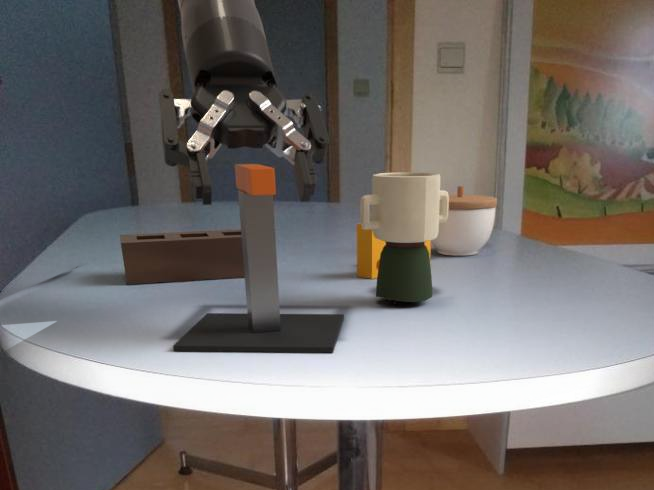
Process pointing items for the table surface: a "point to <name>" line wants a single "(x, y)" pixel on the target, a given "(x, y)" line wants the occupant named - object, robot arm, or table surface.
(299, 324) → the mat
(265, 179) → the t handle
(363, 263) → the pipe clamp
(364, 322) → the table surface
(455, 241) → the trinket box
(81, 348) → the table surface
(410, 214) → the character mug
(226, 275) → the organizer
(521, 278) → the table surface
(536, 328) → the table surface
